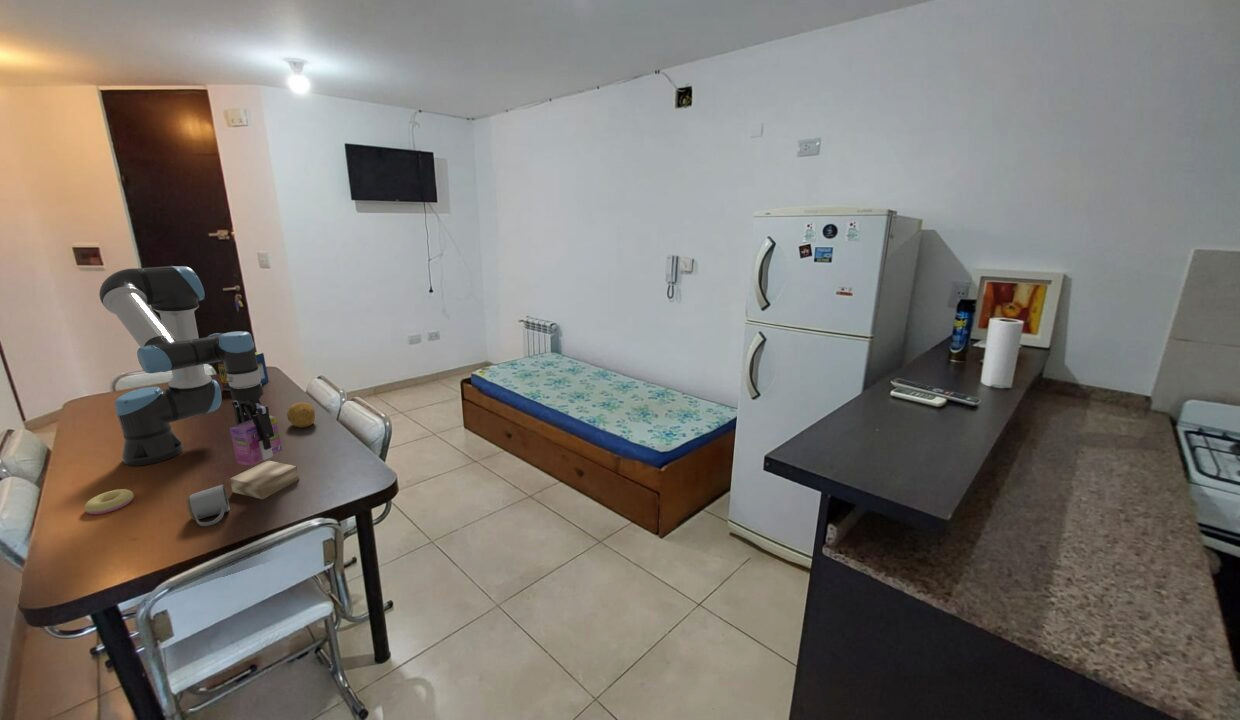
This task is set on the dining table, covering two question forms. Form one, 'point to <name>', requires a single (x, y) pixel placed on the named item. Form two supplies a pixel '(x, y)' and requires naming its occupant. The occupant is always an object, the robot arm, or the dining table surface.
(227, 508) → the ceramic mug
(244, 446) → the box
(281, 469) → the maple block
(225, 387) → the protein box
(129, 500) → the donut
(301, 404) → the potato
